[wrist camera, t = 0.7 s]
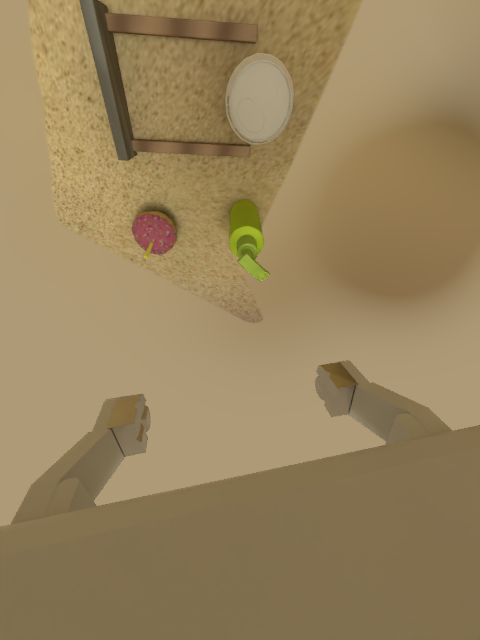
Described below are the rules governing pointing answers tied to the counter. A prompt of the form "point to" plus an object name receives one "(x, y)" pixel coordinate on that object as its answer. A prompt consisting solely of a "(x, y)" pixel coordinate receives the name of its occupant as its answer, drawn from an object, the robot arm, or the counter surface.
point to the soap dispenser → (247, 237)
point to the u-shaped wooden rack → (111, 82)
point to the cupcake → (154, 232)
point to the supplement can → (259, 99)
